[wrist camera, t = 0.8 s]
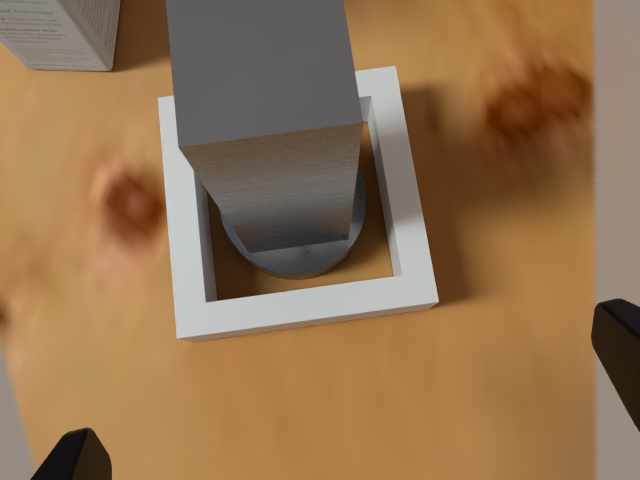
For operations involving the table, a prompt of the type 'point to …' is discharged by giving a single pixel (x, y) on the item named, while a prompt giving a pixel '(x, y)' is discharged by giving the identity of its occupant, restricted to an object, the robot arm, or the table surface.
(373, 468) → the table surface
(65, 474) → the robot arm
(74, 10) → the skincare box
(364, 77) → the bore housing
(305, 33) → the end cover
